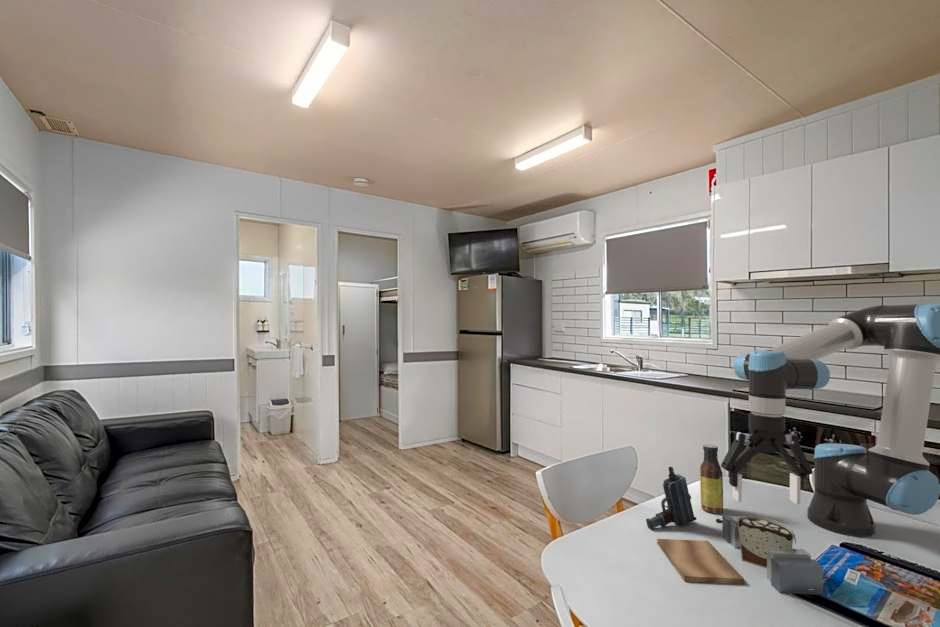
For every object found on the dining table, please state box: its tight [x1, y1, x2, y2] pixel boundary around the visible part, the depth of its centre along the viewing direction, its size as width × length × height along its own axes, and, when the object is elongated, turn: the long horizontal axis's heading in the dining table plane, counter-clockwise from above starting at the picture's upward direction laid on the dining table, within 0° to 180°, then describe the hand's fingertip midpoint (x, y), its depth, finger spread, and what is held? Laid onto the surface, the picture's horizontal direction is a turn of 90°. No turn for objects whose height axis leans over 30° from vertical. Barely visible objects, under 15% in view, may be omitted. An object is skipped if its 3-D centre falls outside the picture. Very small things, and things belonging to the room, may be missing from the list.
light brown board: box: [656, 538, 745, 585], centre depth 107 cm, size 13×17×1 cm
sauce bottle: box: [699, 444, 724, 514], centre depth 137 cm, size 7×6×20 cm
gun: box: [645, 466, 697, 531], centre depth 126 cm, size 3×17×15 cm
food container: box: [735, 515, 797, 570], centre depth 107 cm, size 12×6×10 cm, turn 47°
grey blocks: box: [715, 514, 824, 596], centre depth 109 cm, size 9×28×7 cm, turn 176°
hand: (765, 500), depth 107 cm, fingers open, 13 cm apart
